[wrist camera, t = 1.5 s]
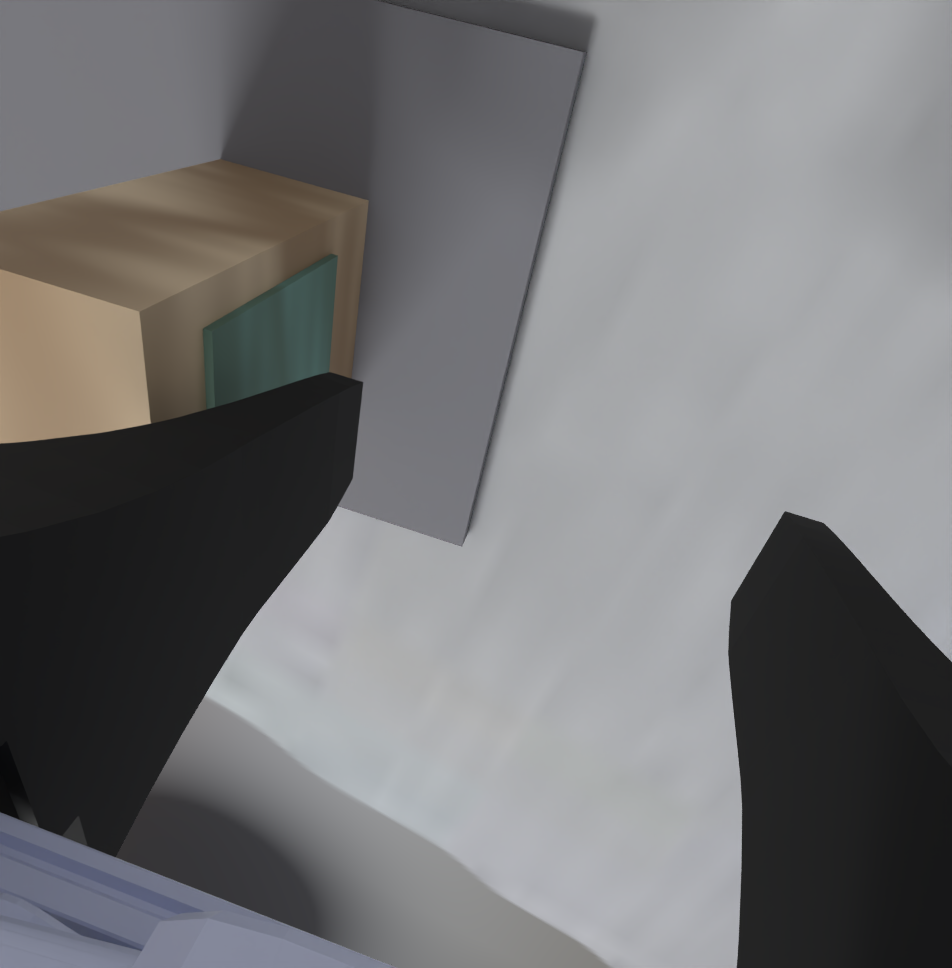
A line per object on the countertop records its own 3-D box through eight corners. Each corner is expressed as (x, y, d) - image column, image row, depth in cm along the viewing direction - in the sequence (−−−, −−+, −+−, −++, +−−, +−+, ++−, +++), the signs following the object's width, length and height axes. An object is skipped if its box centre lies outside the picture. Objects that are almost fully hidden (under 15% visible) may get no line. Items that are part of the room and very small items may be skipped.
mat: (587, 51, 12) (583, 52, 12) (466, 536, 19) (461, 546, 19) (-155, -132, 14) (-180, -138, 13) (-20, 378, 21) (-34, 384, 20)
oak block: (375, 202, 14) (150, 314, 8) (354, 403, 17) (176, 596, 11) (220, 159, 15) (-107, 236, 9) (225, 363, 18) (-16, 529, 11)
